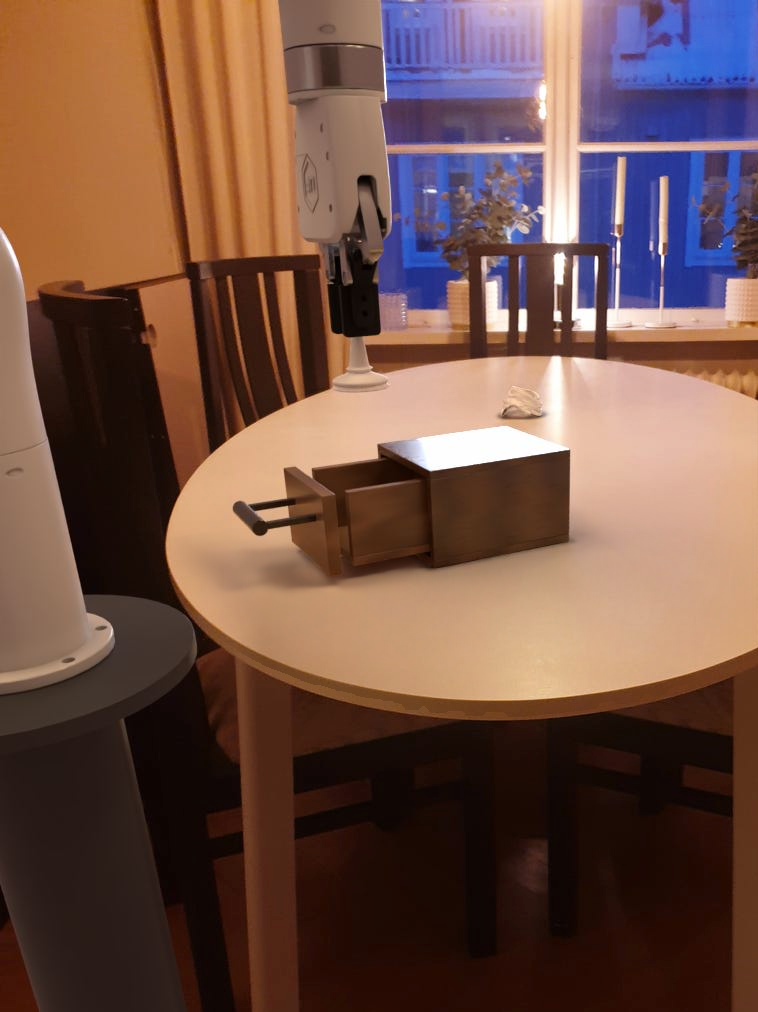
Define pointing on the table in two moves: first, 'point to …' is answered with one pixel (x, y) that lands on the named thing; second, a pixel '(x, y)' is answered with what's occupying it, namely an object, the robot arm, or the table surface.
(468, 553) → the cabinet
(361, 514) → the drawer
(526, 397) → the beige lumpy piece
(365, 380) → the chess piece
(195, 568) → the table surface
